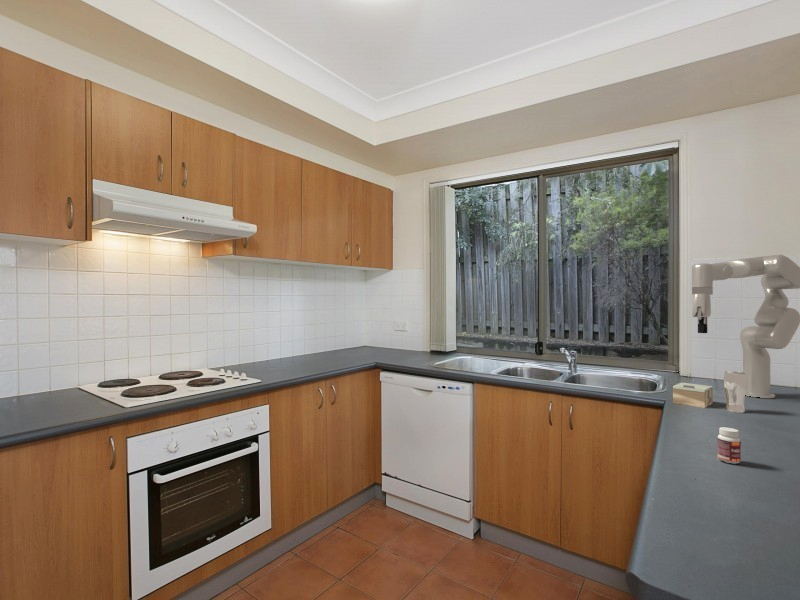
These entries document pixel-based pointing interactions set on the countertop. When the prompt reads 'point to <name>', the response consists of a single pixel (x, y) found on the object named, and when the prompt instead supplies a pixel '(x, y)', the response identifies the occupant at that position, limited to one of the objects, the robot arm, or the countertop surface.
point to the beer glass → (735, 391)
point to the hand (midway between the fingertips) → (702, 332)
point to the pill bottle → (729, 444)
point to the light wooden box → (693, 398)
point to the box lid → (693, 387)
